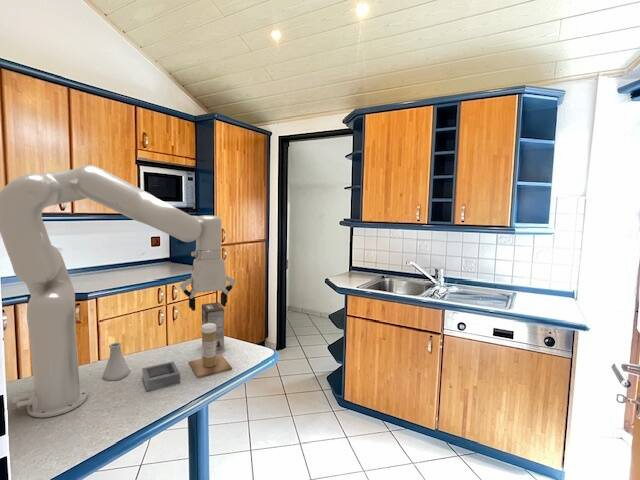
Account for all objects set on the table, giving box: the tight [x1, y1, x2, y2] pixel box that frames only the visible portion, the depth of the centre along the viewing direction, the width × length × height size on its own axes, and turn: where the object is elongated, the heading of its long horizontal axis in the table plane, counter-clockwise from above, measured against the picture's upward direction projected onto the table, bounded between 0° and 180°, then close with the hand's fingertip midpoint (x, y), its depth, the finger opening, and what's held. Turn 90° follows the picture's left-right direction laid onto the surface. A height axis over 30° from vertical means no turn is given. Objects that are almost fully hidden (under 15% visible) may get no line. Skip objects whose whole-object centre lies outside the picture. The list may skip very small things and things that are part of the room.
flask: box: [101, 342, 131, 382], centre depth 108 cm, size 7×7×10 cm
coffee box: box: [201, 301, 225, 354], centre depth 128 cm, size 9×6×16 cm
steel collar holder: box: [141, 361, 181, 392], centre depth 106 cm, size 9×9×3 cm
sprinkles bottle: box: [201, 323, 217, 367], centre depth 114 cm, size 5×5×13 cm
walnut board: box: [187, 353, 233, 379], centre depth 115 cm, size 11×11×1 cm
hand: (208, 307), depth 113 cm, fingers open, 9 cm apart
